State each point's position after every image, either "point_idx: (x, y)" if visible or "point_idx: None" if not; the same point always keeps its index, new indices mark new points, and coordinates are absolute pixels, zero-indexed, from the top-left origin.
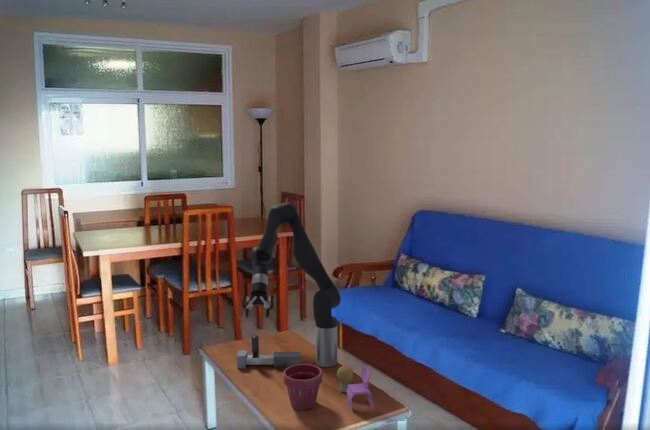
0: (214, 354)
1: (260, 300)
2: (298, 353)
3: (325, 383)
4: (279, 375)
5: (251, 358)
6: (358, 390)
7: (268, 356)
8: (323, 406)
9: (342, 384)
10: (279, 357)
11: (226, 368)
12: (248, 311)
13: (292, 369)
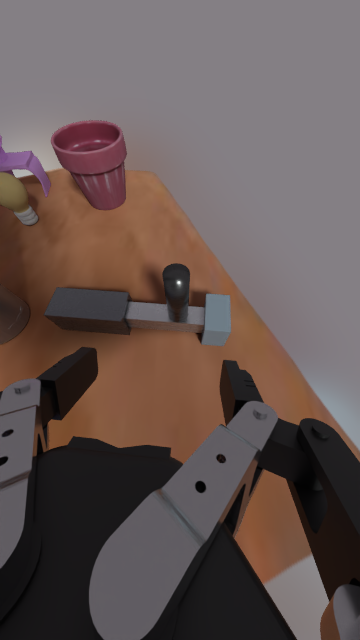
0: (316, 416)
1: (50, 500)
2: (55, 304)
3: (51, 243)
4: (128, 275)
5: (189, 307)
6: (20, 154)
7: (141, 310)
8: (82, 193)
9: (28, 205)
10: (113, 293)
11: (250, 315)
12: (231, 381)
13: (102, 157)
